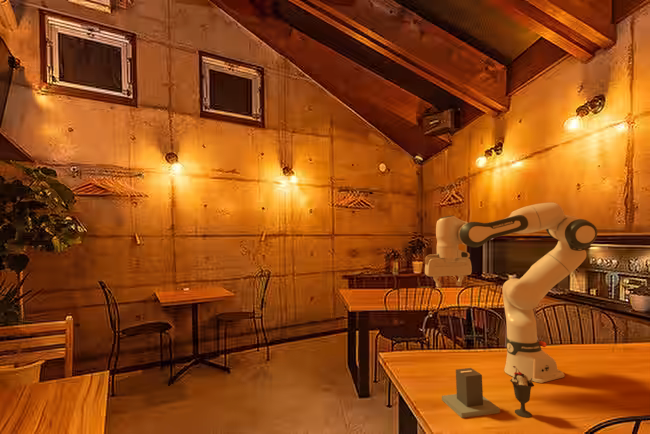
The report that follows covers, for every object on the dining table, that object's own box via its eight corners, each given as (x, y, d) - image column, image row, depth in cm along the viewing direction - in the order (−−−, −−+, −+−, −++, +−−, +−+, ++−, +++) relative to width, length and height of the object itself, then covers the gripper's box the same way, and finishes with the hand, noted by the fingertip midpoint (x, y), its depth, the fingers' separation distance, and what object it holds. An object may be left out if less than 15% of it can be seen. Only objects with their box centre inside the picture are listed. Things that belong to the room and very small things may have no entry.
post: (477, 395, 122) (476, 372, 123) (499, 412, 110) (498, 387, 111) (442, 400, 120) (441, 376, 120) (461, 417, 108) (460, 391, 108)
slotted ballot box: (472, 396, 119) (470, 367, 119) (483, 405, 113) (481, 373, 113) (456, 398, 118) (455, 368, 118) (467, 407, 112) (465, 375, 112)
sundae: (507, 409, 113) (505, 363, 114) (525, 407, 113) (523, 362, 114) (520, 419, 106) (517, 371, 107) (539, 418, 107) (537, 370, 108)
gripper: (428, 254, 138) (429, 288, 137) (473, 253, 142) (474, 286, 141) (421, 254, 144) (422, 286, 143) (464, 252, 148) (465, 284, 147)
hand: (448, 286), depth 142 cm, fingers open, 8 cm apart
